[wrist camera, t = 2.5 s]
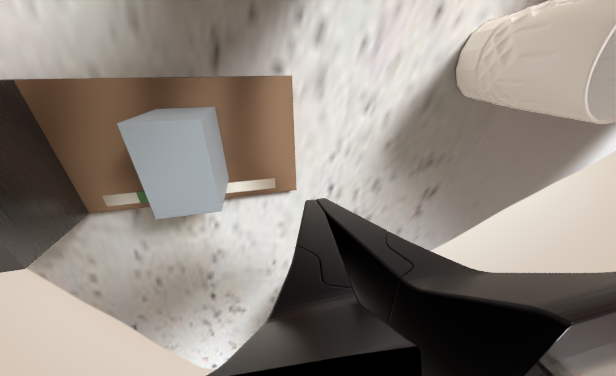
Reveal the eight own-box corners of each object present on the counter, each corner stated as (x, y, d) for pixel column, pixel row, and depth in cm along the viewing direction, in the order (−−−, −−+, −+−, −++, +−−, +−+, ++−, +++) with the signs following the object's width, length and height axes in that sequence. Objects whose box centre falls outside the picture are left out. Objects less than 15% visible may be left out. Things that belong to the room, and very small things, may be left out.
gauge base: (289, 75, 18) (292, 75, 17) (294, 185, 22) (296, 190, 21) (-30, 80, 14) (-51, 80, 13) (55, 211, 19) (45, 219, 18)
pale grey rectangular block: (214, 106, 17) (200, 119, 12) (232, 198, 20) (227, 234, 16) (156, 108, 16) (116, 123, 11) (186, 203, 20) (165, 243, 15)
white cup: (445, 113, 23) (564, 138, 14) (454, 20, 19) (627, -26, 10) (512, 94, 23) (665, 106, 15) (533, 0, 19) (760, -60, 11)
